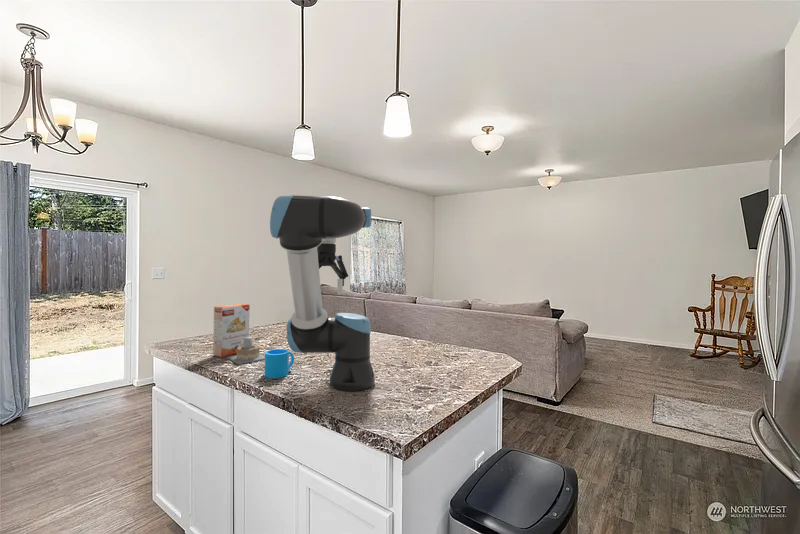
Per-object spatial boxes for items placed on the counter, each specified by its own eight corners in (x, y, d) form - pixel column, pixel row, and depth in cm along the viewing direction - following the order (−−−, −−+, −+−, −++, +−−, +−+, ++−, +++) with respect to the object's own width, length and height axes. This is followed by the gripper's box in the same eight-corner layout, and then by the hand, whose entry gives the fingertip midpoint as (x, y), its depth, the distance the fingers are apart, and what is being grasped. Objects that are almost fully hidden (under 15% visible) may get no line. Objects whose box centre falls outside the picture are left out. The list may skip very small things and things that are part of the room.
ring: (261, 357, 153) (261, 347, 152) (241, 361, 147) (241, 350, 147) (253, 353, 158) (253, 344, 158) (234, 356, 153) (234, 347, 153)
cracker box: (222, 357, 153) (222, 307, 153) (212, 355, 156) (212, 306, 155) (249, 350, 166) (250, 303, 165) (240, 348, 168) (240, 302, 168)
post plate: (268, 359, 152) (268, 338, 152) (238, 364, 144) (238, 342, 144) (256, 353, 161) (256, 333, 161) (227, 358, 153) (227, 337, 153)
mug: (275, 379, 128) (275, 356, 128) (259, 375, 132) (259, 352, 132) (301, 370, 138) (301, 349, 138) (285, 367, 142) (286, 345, 142)
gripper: (346, 244, 162) (345, 292, 163) (293, 242, 145) (293, 296, 146) (356, 244, 157) (356, 294, 157) (303, 241, 140) (302, 298, 140)
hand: (325, 295), depth 152 cm, fingers open, 13 cm apart
